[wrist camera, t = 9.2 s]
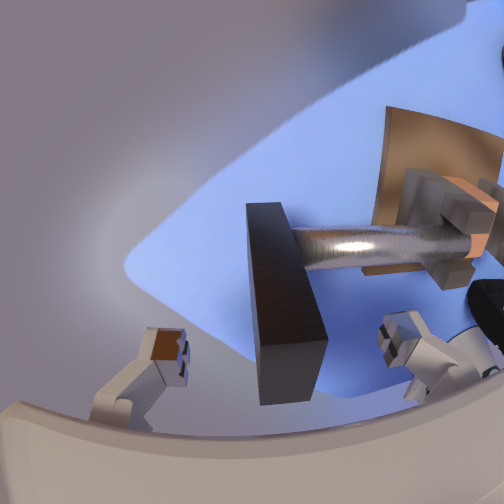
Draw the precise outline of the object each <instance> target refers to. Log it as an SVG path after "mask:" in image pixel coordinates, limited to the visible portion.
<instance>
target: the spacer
mask: <svg viewBox="0 0 504 504" xmlns="http://www.w3.org/2000/svg"><path fill="white" fill-rule="evenodd" d="M442 177H444V178H445V179H447V180H449V181H450V182H452V183H453V184H455V185H457V186H458V187H460V188H461V189H463V190H464V191H466V192H467V193H469V194H470V195H472V196H473V197H475V198H476V199H477V200H479V201H480V202H482V203H483V204H484V205H486V206H487V207H488V208H490V209H491V210H492V211H494V212H495V213H496V212H497V209H498V205H499V202H498V201H496V200H495V199H493V198H492V197H490V196H489V195H488V194H486V193H485V192H483V191H482V190H480V189H478V188H477V187H475V186H474V185H472V184H471V183H469V182H467V181H466V180H464V179H462V178H455V177H447V176H442ZM495 216H496V214H495ZM494 219H495V218H494ZM493 222H494V221H493ZM492 225H493V224H492ZM491 228H492V227H491ZM490 231H491V230H490ZM489 234H490V233H489ZM489 234H471V238H472V246H471V250H470V252H469V254H468V255H467V256H466V257H465V258H473V257H481V256H482V253H483V251H484V248H485V246H486V243H487V240H488V237H489Z"/></svg>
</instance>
